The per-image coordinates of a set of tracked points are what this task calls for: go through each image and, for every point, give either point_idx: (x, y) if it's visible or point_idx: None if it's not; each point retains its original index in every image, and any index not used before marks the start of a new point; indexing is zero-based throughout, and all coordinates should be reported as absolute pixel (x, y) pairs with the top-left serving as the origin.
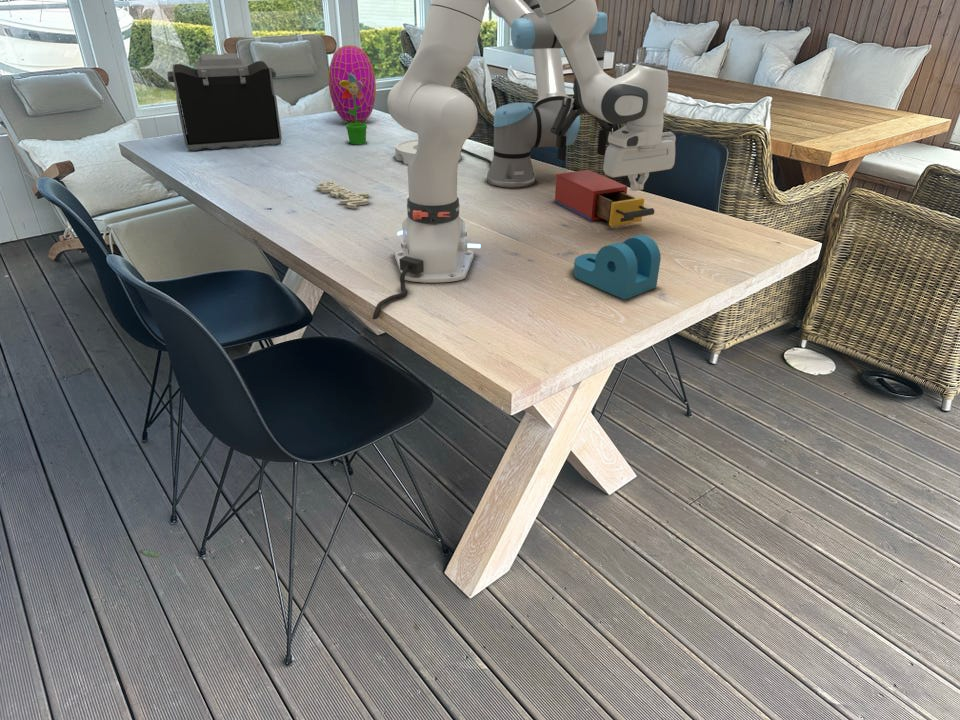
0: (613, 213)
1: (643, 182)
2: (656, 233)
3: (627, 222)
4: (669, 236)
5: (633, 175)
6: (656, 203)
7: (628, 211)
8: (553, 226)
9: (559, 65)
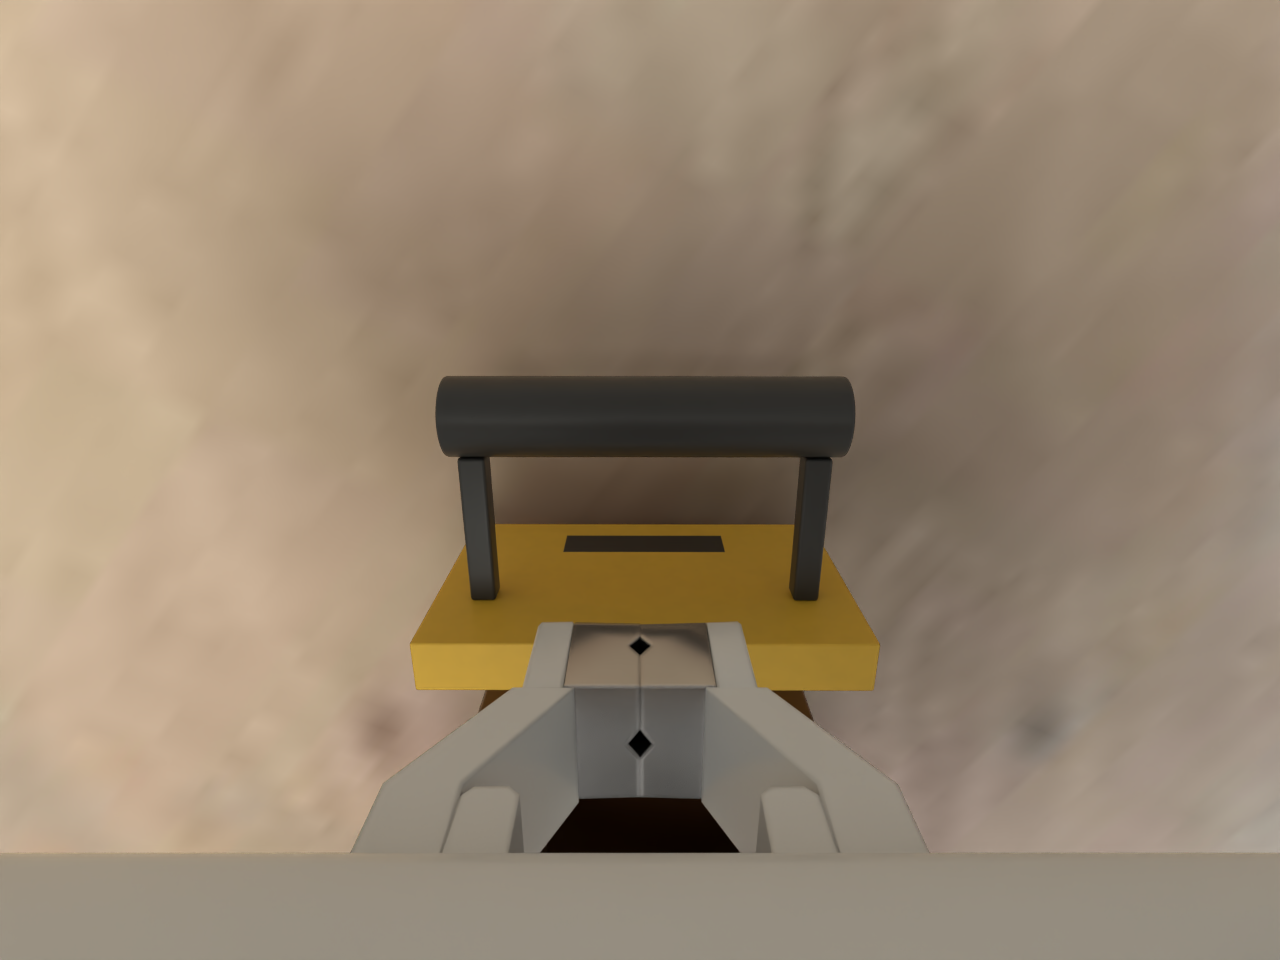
0: (837, 583)
1: (542, 696)
2: (481, 276)
3: (636, 528)
4: (409, 146)
5: (926, 851)
6: (87, 826)
7: (640, 579)
8: (1118, 746)
9: None
